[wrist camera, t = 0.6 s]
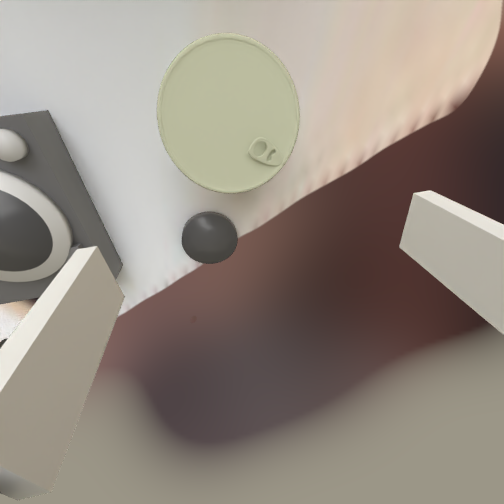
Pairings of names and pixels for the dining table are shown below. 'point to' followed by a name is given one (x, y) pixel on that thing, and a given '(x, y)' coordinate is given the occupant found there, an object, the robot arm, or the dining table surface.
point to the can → (228, 113)
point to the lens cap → (209, 237)
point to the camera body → (42, 208)
